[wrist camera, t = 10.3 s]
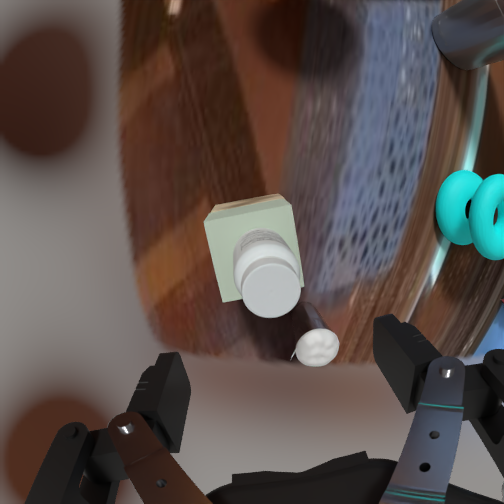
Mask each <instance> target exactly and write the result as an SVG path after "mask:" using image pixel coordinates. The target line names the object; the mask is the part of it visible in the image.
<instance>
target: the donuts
mask: <svg viewBox="0 0 504 504" xmlns="http://www.w3.org/2000/svg"><path fill="white" fill-rule="evenodd" d="M470 199H471V205H470V210H469V218H468V219H467V218H466V215H465V207H466V204H467V202H468V201H469V200H470ZM496 207H497V209H498V218H497V221H496V223H495V225H494V226H493V218H494V213H495V209H496ZM436 218H437V222H438V225H439V228H440V230H441V232H442V233H443V235H444V236H445V237H446V238H447V239H448V240H449V241H451V242H453V243H455V244H458V245H468V244H471V243H474V245H475V247H476V249H477V250H478V252H479V253H480V254H481V255H483V256H484V257H486V258H488V259H490V260H501V259H504V175H503V174H495V175H491V176H489V177H488V178H486V179H485V180H484V181H483V180H482V178H481V177H479V176H478V175H477V174H475V173H474V172H471V171H468V170H460V171H457V172H454V173H452V174H451V175H450V176H448V177H447V178H446V180H445V181H444V182H443V184H442V185H441V187H440V189H439V192H438V195H437V200H436Z"/></svg>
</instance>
